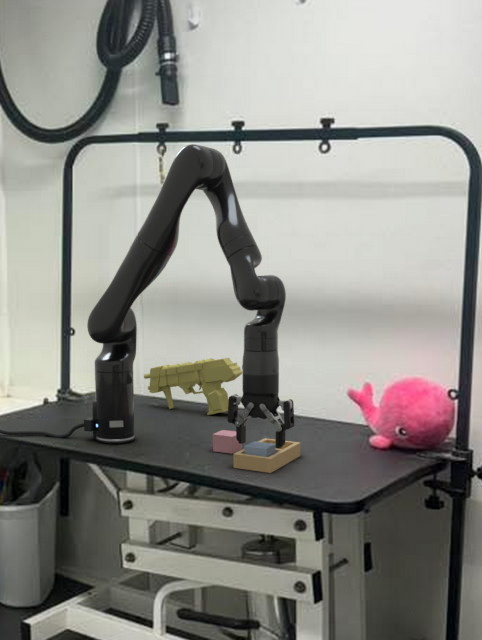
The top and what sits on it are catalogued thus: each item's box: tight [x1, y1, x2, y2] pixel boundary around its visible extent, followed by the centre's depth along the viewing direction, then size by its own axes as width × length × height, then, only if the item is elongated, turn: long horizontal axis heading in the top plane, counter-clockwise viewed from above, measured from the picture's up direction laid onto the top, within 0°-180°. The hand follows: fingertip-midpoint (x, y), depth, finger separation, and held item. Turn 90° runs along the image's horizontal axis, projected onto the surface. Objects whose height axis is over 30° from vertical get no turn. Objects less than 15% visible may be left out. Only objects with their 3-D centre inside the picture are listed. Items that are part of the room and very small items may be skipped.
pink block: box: [212, 429, 243, 455], centre depth 215 cm, size 5×5×4 cm
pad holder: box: [232, 437, 301, 474], centre depth 204 cm, size 8×16×3 cm, turn 144°
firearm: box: [143, 357, 243, 416], centre depth 257 cm, size 4×30×15 cm, turn 51°
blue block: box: [243, 440, 276, 457], centre depth 201 cm, size 5×5×4 cm
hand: (260, 445), depth 200 cm, fingers open, 8 cm apart
